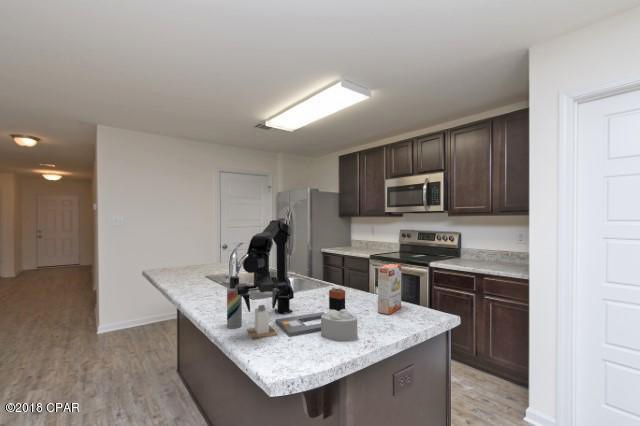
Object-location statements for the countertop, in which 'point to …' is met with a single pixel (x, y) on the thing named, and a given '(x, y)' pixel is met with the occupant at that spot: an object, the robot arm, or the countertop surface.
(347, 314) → the lumpy-topped squat cylinder
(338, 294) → the battery
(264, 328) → the plug
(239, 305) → the lotion bottle
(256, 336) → the rest pad
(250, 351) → the countertop surface
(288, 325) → the grey square tray
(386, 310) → the cracker box
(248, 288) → the robot arm
